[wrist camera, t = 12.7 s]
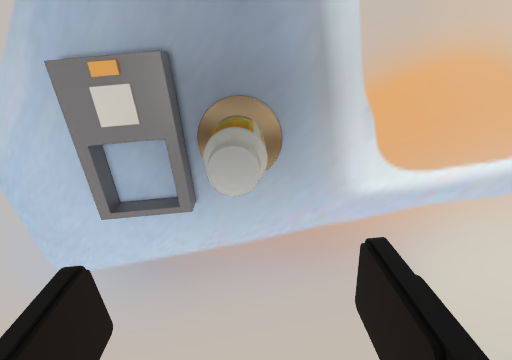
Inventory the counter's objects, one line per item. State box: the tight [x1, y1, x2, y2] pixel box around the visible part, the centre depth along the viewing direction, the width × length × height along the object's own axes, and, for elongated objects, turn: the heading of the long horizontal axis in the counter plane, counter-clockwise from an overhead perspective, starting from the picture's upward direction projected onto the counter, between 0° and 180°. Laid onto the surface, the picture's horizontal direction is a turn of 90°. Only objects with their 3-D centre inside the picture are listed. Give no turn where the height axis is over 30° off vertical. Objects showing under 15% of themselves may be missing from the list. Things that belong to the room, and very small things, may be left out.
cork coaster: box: [197, 96, 282, 171], centre depth 29 cm, size 9×9×1 cm
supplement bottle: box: [203, 115, 268, 196], centre depth 24 cm, size 5×5×10 cm
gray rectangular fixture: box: [44, 51, 196, 220], centre depth 27 cm, size 16×10×3 cm, turn 5°
